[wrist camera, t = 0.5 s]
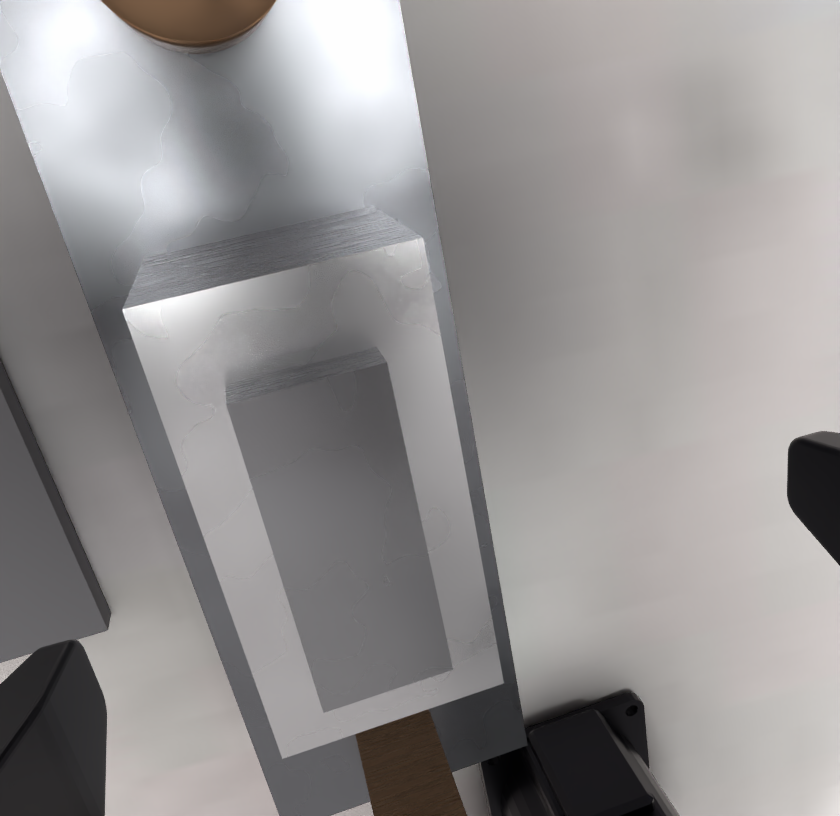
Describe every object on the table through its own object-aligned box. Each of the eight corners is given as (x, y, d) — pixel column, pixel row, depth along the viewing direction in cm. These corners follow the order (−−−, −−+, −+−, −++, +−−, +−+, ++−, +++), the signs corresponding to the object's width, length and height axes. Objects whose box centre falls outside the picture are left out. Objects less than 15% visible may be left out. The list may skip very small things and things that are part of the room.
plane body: (473, 635, 26) (581, 854, 19) (272, 700, 25) (298, 963, 17) (324, -123, 17) (414, -303, 10) (2, -72, 16) (-186, -228, 9)
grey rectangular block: (448, 572, 19) (518, 712, 15) (268, 629, 18) (286, 792, 14) (372, 206, 15) (437, 246, 11) (144, 258, 14) (115, 323, 10)
